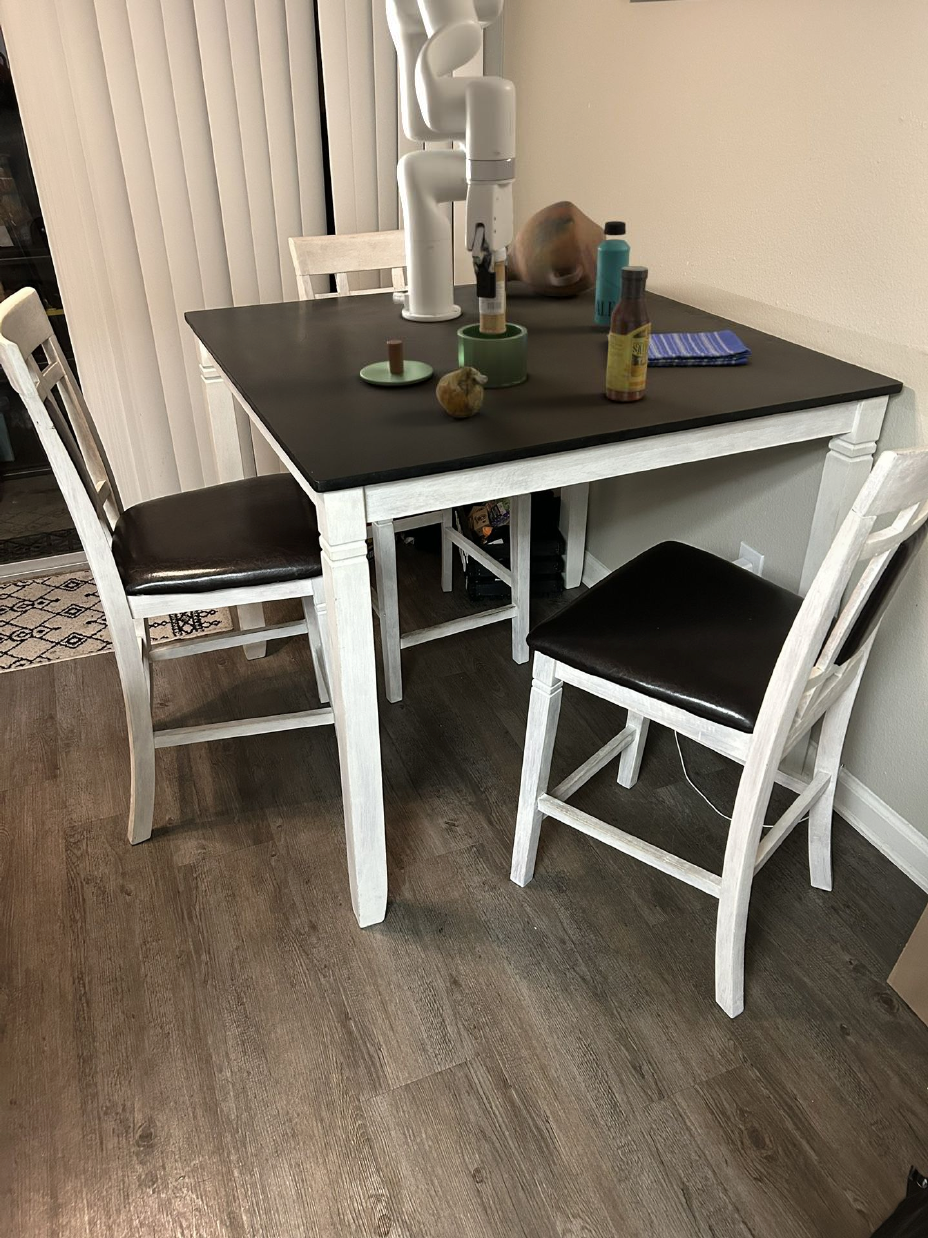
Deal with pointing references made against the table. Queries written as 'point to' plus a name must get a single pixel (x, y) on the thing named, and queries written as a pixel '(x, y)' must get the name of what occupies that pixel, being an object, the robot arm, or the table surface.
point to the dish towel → (696, 349)
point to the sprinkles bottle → (495, 299)
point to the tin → (495, 354)
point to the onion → (461, 392)
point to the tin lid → (396, 369)
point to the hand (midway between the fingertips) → (492, 292)
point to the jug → (556, 251)
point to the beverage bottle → (610, 272)
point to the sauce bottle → (629, 338)
